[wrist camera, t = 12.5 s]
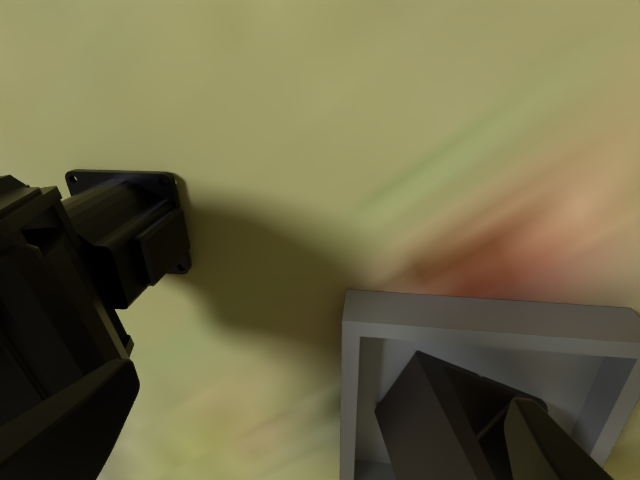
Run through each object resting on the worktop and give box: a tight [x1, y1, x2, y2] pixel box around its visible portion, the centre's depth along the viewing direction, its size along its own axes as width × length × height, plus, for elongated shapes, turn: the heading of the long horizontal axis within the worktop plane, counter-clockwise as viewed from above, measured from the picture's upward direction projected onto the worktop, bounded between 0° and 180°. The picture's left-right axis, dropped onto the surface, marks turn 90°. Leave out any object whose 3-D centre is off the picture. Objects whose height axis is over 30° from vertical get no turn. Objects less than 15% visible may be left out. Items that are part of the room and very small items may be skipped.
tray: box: [340, 290, 640, 480], centre depth 24 cm, size 16×16×3 cm
